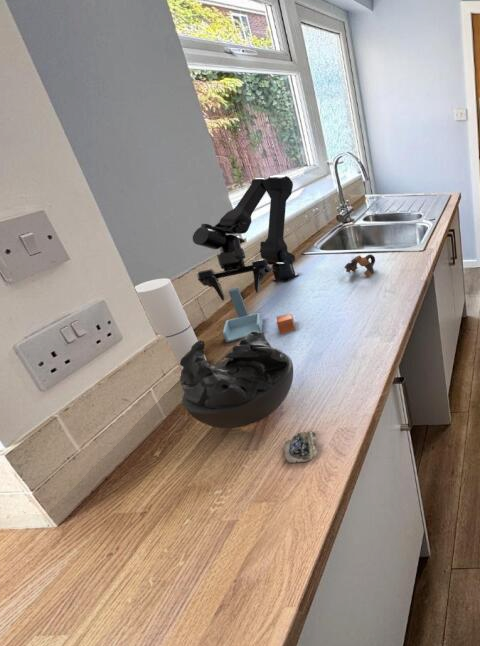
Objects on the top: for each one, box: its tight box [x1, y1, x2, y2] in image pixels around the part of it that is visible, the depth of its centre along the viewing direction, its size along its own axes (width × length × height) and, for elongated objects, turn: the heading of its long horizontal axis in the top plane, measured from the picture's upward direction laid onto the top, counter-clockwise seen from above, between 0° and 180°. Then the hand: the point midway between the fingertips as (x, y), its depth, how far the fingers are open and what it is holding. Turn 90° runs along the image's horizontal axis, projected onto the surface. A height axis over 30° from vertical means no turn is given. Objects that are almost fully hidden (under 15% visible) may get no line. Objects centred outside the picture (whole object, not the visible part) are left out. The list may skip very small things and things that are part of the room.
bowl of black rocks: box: [179, 331, 294, 429], centre depth 86 cm, size 20×20×19 cm
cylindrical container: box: [134, 277, 210, 370], centre depth 100 cm, size 7×7×25 cm
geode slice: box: [283, 431, 318, 464], centre depth 80 cm, size 7×8×2 cm
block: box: [276, 312, 296, 335], centre depth 121 cm, size 4×4×4 cm
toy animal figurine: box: [344, 253, 376, 278], centre depth 155 cm, size 12×10×8 cm
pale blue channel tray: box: [222, 287, 264, 343], centre depth 120 cm, size 10×9×12 cm
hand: (240, 296), depth 126 cm, fingers open, 9 cm apart
